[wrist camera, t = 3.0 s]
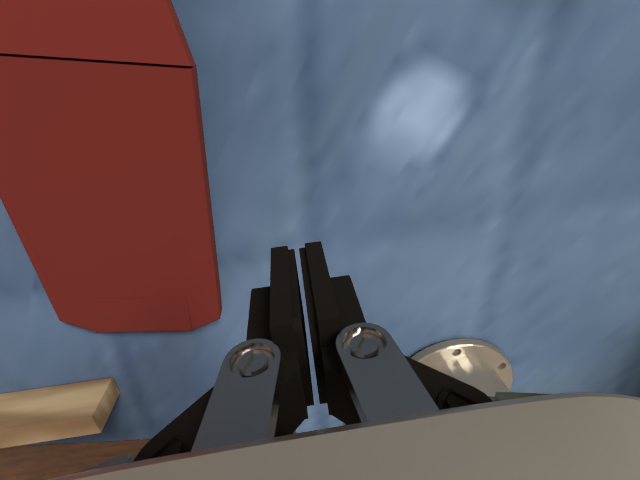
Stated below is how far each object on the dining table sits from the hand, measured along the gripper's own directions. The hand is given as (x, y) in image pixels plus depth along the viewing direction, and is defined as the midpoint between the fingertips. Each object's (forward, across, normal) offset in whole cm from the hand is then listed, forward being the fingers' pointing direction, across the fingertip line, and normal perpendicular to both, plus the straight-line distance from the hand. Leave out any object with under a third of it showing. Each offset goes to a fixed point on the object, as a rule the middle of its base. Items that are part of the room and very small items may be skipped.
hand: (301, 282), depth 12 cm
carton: (+16, +11, -1) cm, 19 cm away
